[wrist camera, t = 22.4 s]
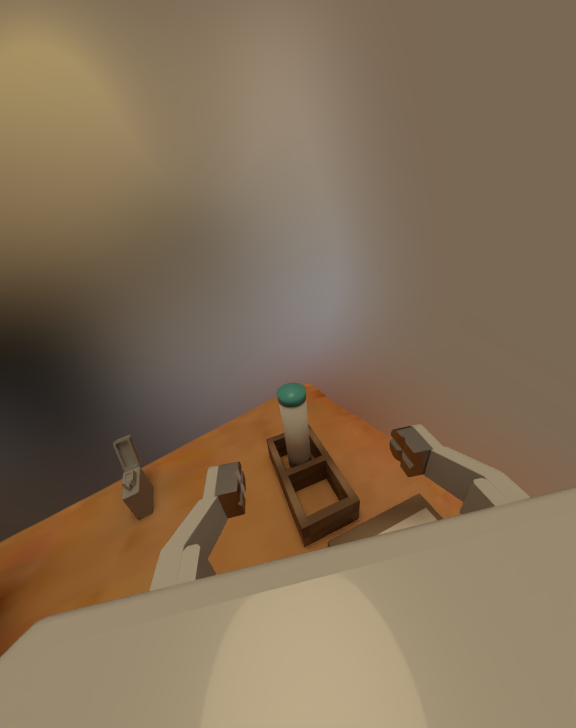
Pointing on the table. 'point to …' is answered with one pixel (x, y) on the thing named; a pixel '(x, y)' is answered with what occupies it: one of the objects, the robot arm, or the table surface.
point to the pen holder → (308, 475)
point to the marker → (295, 422)
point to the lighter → (134, 479)
